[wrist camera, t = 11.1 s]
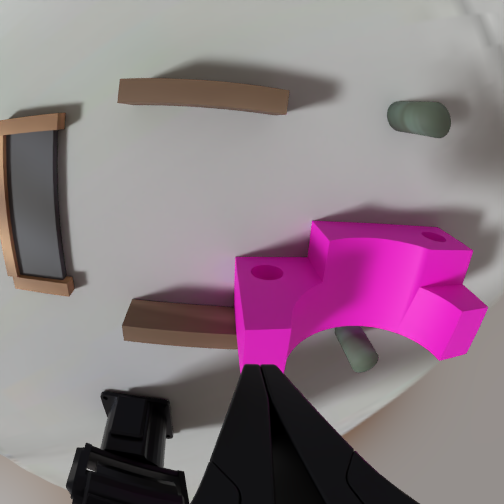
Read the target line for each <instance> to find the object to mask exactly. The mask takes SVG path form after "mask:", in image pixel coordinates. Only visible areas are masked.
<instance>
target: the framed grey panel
mask: <svg viewBox="0 0 504 504" xmlns="http://www.w3.org/2000/svg"><path fill="white" fill-rule="evenodd" d="M288 98H289V90H283V89H277V88H271V87H264V86H257V85H249V84H241V83H232V82H221V81H209V80H194V79H169V78H132V79H120V84H119V92H118V102H117V103H123V104H130V105H169V106H190V107H205V108H218V109H228V110H238V111H247V112H255V113H263V114H270V115H286V113H287V105H288ZM387 118H388V122H389V124H390V125H391V127H392V128H393V129H395V130H396V131H400V132H406V133H412V134H418V135H424V136H429V137H434V138H442V137H444V136H446V135H447V133H448V132H449V129H450V126H451V119H450V114H449V112H448V110H447V108H446V107H445V106H444V105H443V104H441V103H439V102H414V101H399V102H394V103H392V104H391V105H390V107H389V108H388V112H387ZM64 128H65V113H53V114H44V115H35V116H27V117H20V118H13V119H7V120H1V121H0V238H1V244H2V249H3V255H4V260H5V265H6V269H7V274H8V276H13V280H14V284H15V288H16V289H22V290H28V291H35V292H41V293H48V294H54V295H61V296H70V295H71V293H72V292H73V290H74V284H73V278H72V277H69V276H66V270H65V264H64V256H63V249H62V240H61V230H60V219H59V206H58V185H57V138H58V130H60V129H64ZM122 329H123V336H124V341H133V342H142V343H151V344H161V345H173V346H185V347H200V348H218V349H238V344H237V334H236V324H235V314H234V307H225V306H208V305H194V304H180V303H168V302H156V301H145V300H135V299H132V301H131V304H130V306H129V309H128V312H127V314H126V317H125V319H124V322H123V324H122ZM335 334H336V336H337V338H338V340H339V342H340V344H341V346H342V348H343V350H344V352H345V354H346V356H347V358H348V361H349V363H350V365H351V367H352V369H353V370H354V371H355V372H365V371H367V370H369V369H371V368H372V367H373V366H374V365H375V364H376V363H377V361H378V354H377V353H376V351H375V349H374V348H373V346H372V344H371V343H370V341H369V339H368V338H367V336H366V334H365V333H364V331H363V329H362V328H361V326H341V327H336V328H335Z"/></svg>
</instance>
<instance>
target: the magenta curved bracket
mask: <svg viewBox="0 0 504 504" xmlns="http://www.w3.org/2000/svg"><path fill="white" fill-rule="evenodd" d="M472 253H473V250H472V249H470V248H469V247H467V246H466V245H464V244H463V243H461V242H460V241H458V240H457V239H455V238H454V237H452V236H451V235H449V234H447V233H446V232H444V231H443V230H441V229H440V228H438V227H425V226H410V225H393V224H375V223H355V222H332V221H312V226H311V234H310V242H309V249H308V256H307V257H235V285H234V314H235V324H236V334H237V344H238V354H239V364H240V374H241V372H242V369H243V366H244V365H245V364H258V365H262V364H274V365H276V366H277V367H278V368H279V369H280V370H281V371H282V372H283V373H284V370H285V364H286V360H287V357H288V356H289V354H290V353H291V351H292V350H293V349H294V348H295V347H296V346H297V345H298V344H299V343H300V342H301V341H303V340H304V339H306V338H307V337H309V336H311V335H313V334H315V333H317V332H320V331H323V330H326V329H330V328H335V327H341V326H367V327H375V328H380V329H384V330H388V331H391V332H395V333H397V334H400V335H403V336H405V337H407V338H409V339H411V340H413V341H415V342H417V343H418V344H420V345H421V346H423V347H424V348H426V349H427V350H428V351H430V352H431V353H432V354H433V355H434V356H435V357H436V358H437V359H438V360H439V361H440V360H444V359H448V358H452V357H456V356H460V355H463V354H466V353H467V351H468V349H469V347H470V345H471V343H472V341H473V339H474V337H475V335H476V333H477V331H478V329H479V327H480V325H481V323H482V320H483V318H484V316H485V314H486V311H487V309H488V307H487V306H486V305H485V304H484V303H483V302H482V301H481V300H480V299H479V298H477V297H476V296H475V295H474V294H473V293H472V292H471V291H470V290H468V289H467V288H466V287H465V286H464V285H463V281H464V278H465V275H466V272H467V269H468V266H469V263H470V259H471V256H472Z"/></svg>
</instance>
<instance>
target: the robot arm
mask: <svg viewBox="0 0 504 504" xmlns="http://www.w3.org/2000/svg"><path fill="white" fill-rule="evenodd" d="M101 400H102V403H103V406H104V409H105V412H106V414H107V417H108V419H107V423H106V427H105V431H104V435H103V439H102V444H101V448H100V449H99V448H97V447H94V446H92V445H91V444H89V443H86V445H85V448H84V447H83V448H77V449H76V453H75V457H74V460H73V464H72V467H71V470H70V473H69V477H68V480H67V484H66V488H67V490H68V491H69V492H70V494H71V499H73V502H72V504H189V499H188V493H187V487H186V481H185V474H184V471H179V470H178V471H175V470H171V469H166V468H163V467H164V454H165V441H166V438H167V439H171V438H173V428H172V420H171V411H170V403H169V401H168V400H165V399H156V398H147V397H139V396H131V395H124V394H117V393H111V392H102V393H101ZM87 468H88V469H90V470H93V471H95V472H93V471H88V470H86V469H87ZM190 504H419V503H418V502H416V501H415V500H414V499H412V498H411V497H409V496H408V495H407V494H405V493H404V492H403V491H401V490H400V489H398V488H397V487H396V486H394V485H393V484H392V483H390V482H389V481H388V480H386V478H384V477H383V476H382V475H380V474H379V473H378V472H377V471H376V470H375V469H374V468H373V467H372V466H371V465H369V464H368V463H367V462H366V461H365V460H364V459H363V458H362V457H361V456H360V455H359V454H358V453H357V452H356V451H354V449H353V448H352V447H351V446H350V445H349V444H348V443H347V442H346V441H345V440H344V439H343V438H342V436H341V435H340V434H339V433H338V432H337V431H336V430H335V429H334V428H333V427H332V426H331V425H330V424H329V423H328V422H327V421H326V420H325V419H324V417H323V416H322V415H321V414H320V413H319V412H318V411H317V410H316V409H315V408H314V407H313V406H312V405H311V403H310V402H309V401H308V400H307V399H306V398H305V397H304V396H303V395H302V394H301V392H300V391H299V390H298V389H297V388H296V387H295V386H294V385H293V384H292V382H291V381H290V380H289V379H288V378H287V377H286V376H285V375H284V373H283V372H282V371H281V370H280V369H279V368H278V367H277V366H276V365H274V364H262V365H258V364H245V365H244V366H243V369H242V372H241V375H240V378H239V381H238V383H237V386H236V389H235V392H234V395H233V398H232V401H231V403H230V406H229V409H228V412H227V415H226V417H225V420H224V423H223V426H222V428H221V431H220V434H219V437H218V439H217V442H216V445H215V448H214V450H213V453H212V456H211V458H210V462H209V463H208V466H207V469H206V471H205V474H204V476H203V479H202V481H201V483H200V486H199V488H198V490H197V492H196V494H195V496H194V498H193V500H192V501H191V503H190Z"/></svg>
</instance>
